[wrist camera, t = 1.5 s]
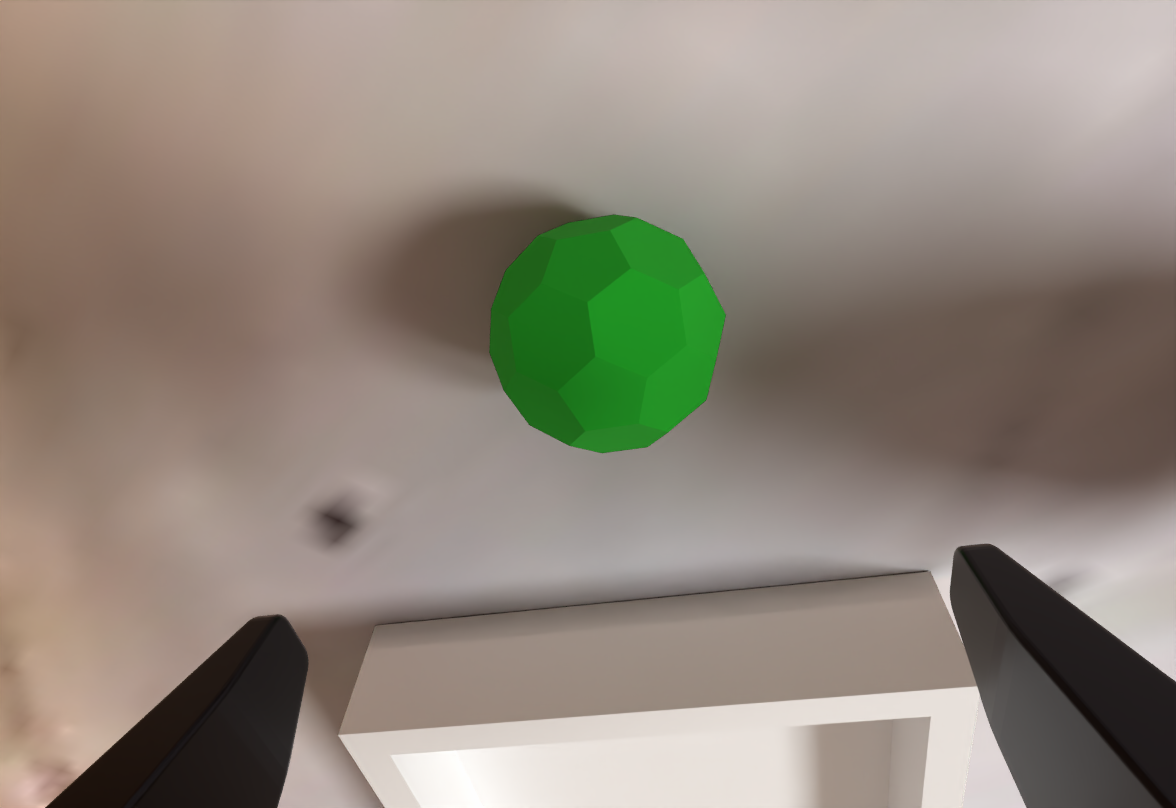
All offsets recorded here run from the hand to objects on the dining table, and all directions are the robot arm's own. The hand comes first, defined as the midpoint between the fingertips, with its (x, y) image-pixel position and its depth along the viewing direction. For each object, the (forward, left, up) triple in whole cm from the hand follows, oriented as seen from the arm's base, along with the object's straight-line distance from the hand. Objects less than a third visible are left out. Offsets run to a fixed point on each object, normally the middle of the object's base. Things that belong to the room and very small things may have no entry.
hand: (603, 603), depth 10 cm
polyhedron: (0, 0, -10) cm, 10 cm away
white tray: (+1, +22, -10) cm, 24 cm away
